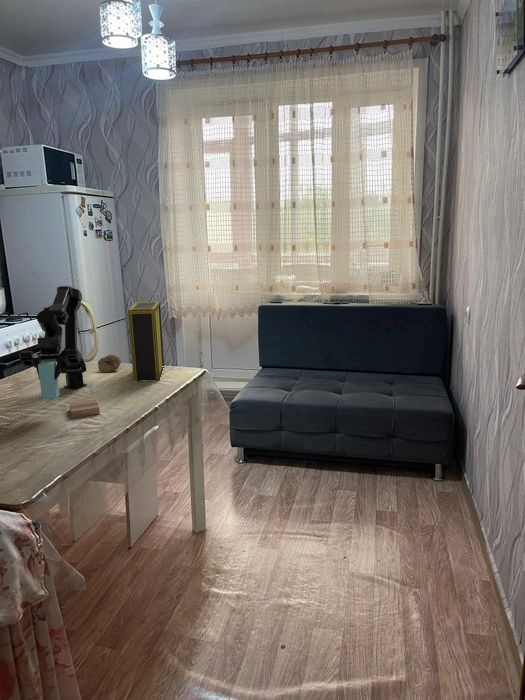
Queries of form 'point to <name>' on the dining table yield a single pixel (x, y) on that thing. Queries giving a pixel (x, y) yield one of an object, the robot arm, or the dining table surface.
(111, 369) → the fossil
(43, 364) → the tall block
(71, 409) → the base brick
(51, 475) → the dining table surface
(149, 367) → the diorama
